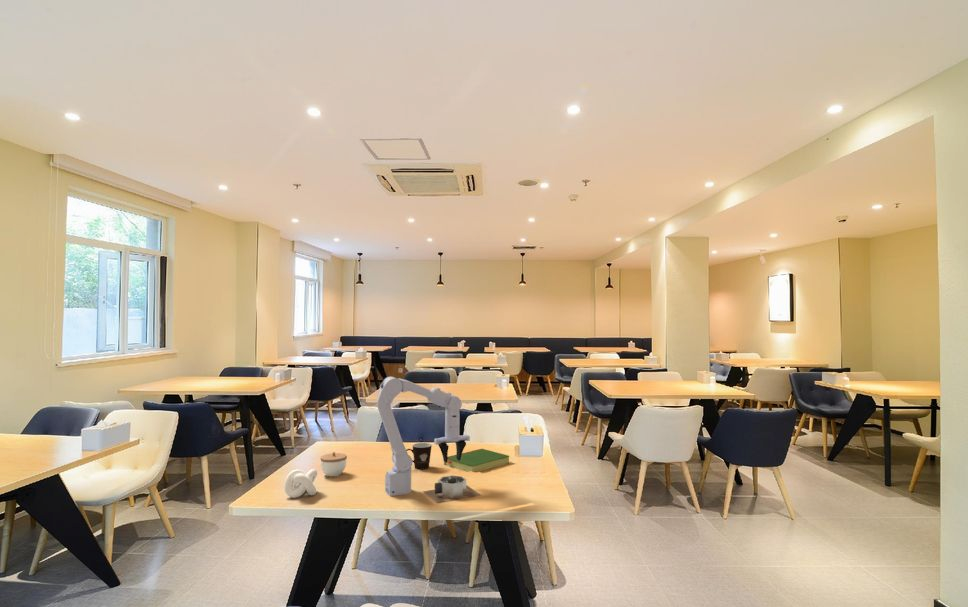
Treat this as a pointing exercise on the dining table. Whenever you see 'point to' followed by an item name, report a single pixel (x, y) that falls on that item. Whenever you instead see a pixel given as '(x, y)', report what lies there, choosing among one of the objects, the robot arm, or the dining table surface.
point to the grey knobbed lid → (452, 480)
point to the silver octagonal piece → (451, 487)
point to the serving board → (439, 499)
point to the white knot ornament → (300, 483)
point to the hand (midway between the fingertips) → (452, 460)
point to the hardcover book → (477, 460)
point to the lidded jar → (333, 463)
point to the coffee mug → (421, 455)
